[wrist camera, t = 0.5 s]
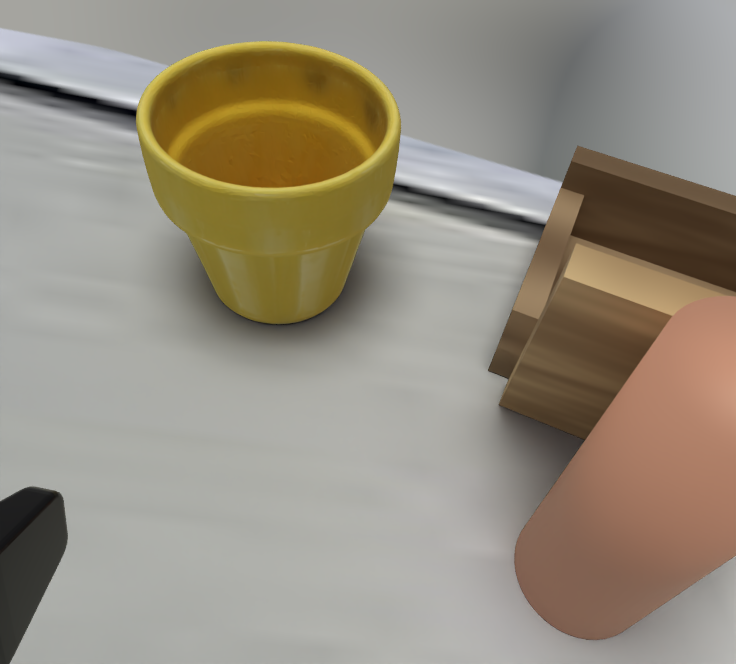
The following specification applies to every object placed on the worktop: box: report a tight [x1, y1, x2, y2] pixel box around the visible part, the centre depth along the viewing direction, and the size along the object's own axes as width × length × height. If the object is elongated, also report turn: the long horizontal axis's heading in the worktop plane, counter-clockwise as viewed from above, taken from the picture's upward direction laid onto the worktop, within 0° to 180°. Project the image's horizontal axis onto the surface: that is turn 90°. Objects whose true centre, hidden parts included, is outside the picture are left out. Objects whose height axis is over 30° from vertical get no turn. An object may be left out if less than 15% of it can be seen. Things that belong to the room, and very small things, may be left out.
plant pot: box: [136, 41, 401, 324], centre depth 29 cm, size 10×10×10 cm
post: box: [515, 296, 736, 640], centre depth 20 cm, size 5×5×13 cm
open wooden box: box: [488, 146, 736, 378], centre depth 30 cm, size 10×12×6 cm
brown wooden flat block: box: [499, 243, 726, 440], centre depth 23 cm, size 4×10×12 cm, turn 66°
